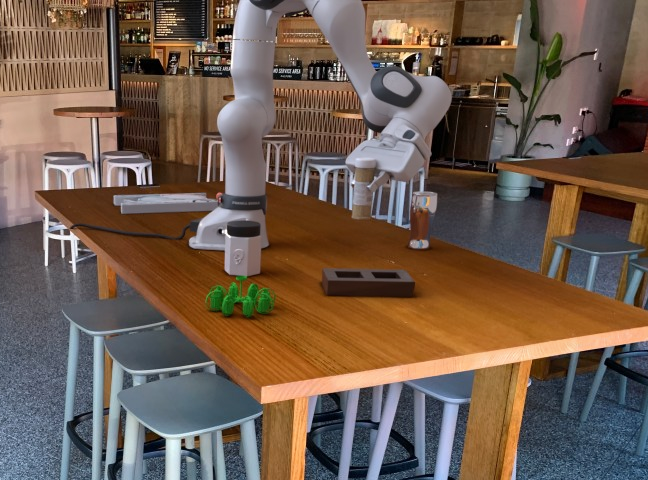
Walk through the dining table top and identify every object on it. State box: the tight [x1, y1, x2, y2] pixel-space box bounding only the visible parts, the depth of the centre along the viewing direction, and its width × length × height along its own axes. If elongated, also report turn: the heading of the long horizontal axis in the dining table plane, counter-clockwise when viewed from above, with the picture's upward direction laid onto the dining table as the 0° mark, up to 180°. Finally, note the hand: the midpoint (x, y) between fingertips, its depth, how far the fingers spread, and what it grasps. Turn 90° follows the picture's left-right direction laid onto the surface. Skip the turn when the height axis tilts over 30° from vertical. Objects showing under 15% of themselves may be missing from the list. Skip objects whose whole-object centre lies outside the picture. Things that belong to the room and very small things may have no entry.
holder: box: [321, 267, 416, 298], centre depth 180 cm, size 11×19×4 cm, turn 88°
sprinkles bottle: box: [351, 158, 376, 221], centre depth 179 cm, size 5×5×14 cm
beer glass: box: [407, 190, 438, 251], centre depth 218 cm, size 7×7×15 cm
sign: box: [113, 192, 219, 215], centre depth 278 cm, size 34×3×20 cm
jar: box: [224, 220, 262, 278], centre depth 192 cm, size 9×8×12 cm
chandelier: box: [205, 276, 276, 318], centre depth 164 cm, size 15×15×7 cm
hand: (361, 188), depth 179 cm, fingers closed on sprinkles bottle, 4 cm apart
